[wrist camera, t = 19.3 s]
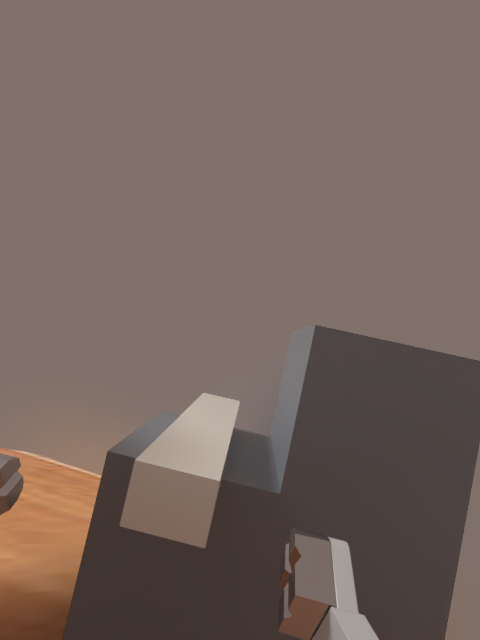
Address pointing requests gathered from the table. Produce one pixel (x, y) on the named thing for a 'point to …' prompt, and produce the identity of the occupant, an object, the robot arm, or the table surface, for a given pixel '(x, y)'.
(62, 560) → the table surface
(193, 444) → the beige rectangular post
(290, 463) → the grey l-shaped step block
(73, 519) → the table surface
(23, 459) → the table surface
